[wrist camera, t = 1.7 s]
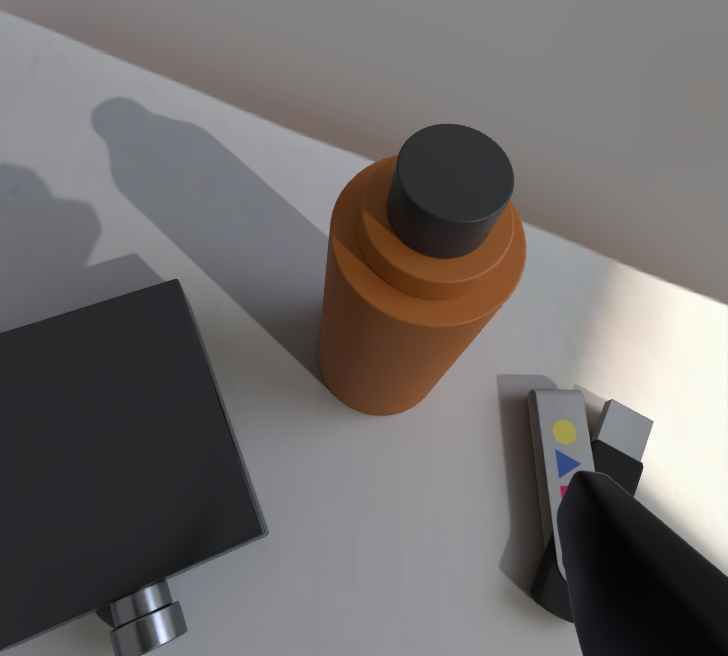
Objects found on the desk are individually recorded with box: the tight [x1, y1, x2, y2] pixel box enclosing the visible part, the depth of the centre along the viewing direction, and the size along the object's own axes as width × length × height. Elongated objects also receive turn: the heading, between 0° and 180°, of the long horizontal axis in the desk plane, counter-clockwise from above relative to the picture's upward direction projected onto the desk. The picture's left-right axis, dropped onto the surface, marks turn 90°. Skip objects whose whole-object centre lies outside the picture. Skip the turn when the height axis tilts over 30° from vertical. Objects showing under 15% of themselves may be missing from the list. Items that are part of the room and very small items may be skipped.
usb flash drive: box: [528, 389, 654, 623], centre depth 22 cm, size 9×5×1 cm, turn 151°
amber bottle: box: [319, 124, 526, 416], centre depth 18 cm, size 5×5×13 cm
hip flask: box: [0, 279, 269, 656], centre depth 19 cm, size 12×9×3 cm
